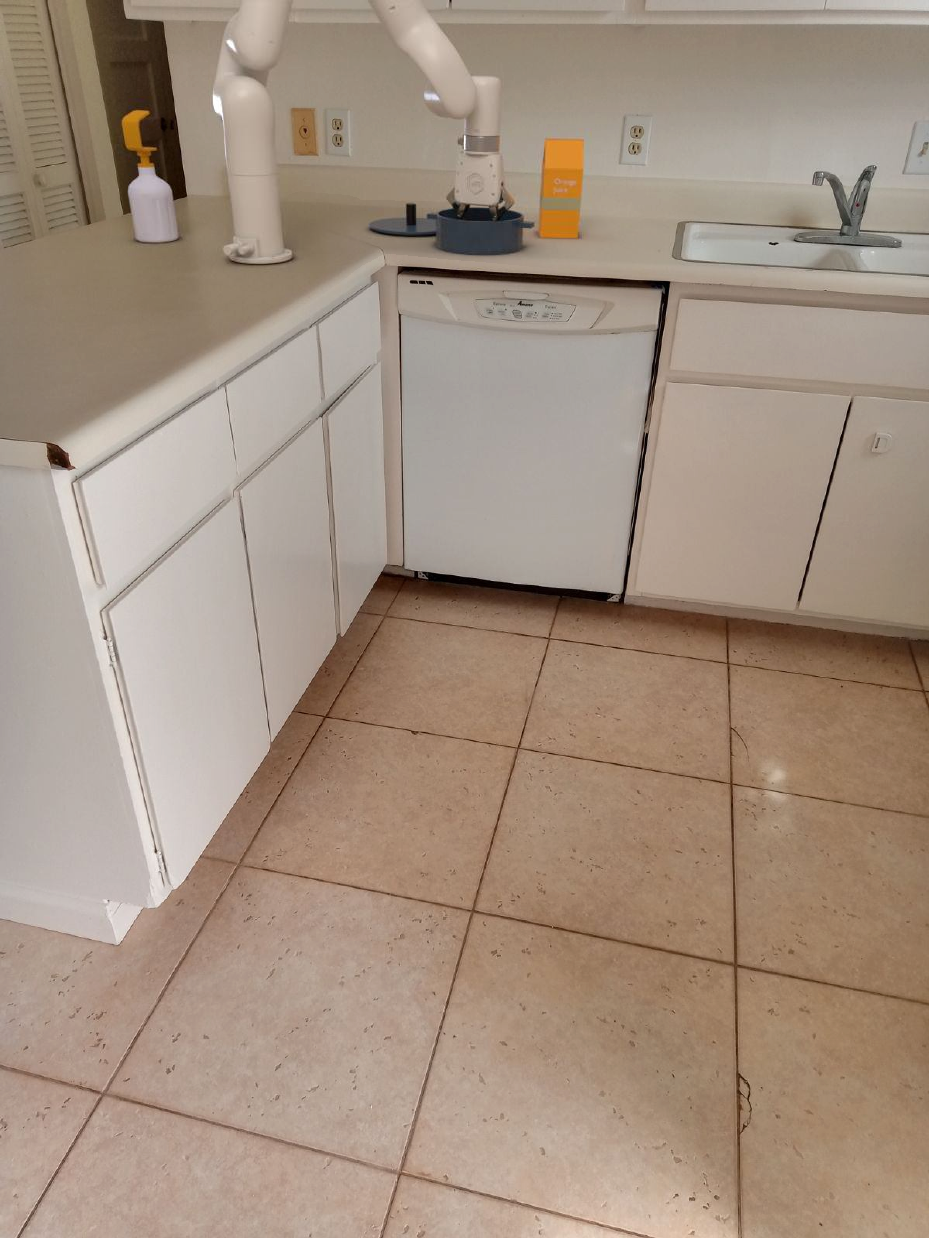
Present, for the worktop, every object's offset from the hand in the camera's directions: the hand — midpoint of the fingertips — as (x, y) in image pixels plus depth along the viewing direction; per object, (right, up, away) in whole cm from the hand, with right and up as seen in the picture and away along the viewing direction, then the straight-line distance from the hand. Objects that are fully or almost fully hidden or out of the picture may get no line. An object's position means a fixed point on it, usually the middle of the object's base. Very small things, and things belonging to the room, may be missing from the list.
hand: (478, 236), depth 195 cm
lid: (-16, +9, +16) cm, 25 cm away
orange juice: (+19, +7, +15) cm, 25 cm away
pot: (0, -2, +1) cm, 2 cm away
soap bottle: (-71, -1, 0) cm, 71 cm away
